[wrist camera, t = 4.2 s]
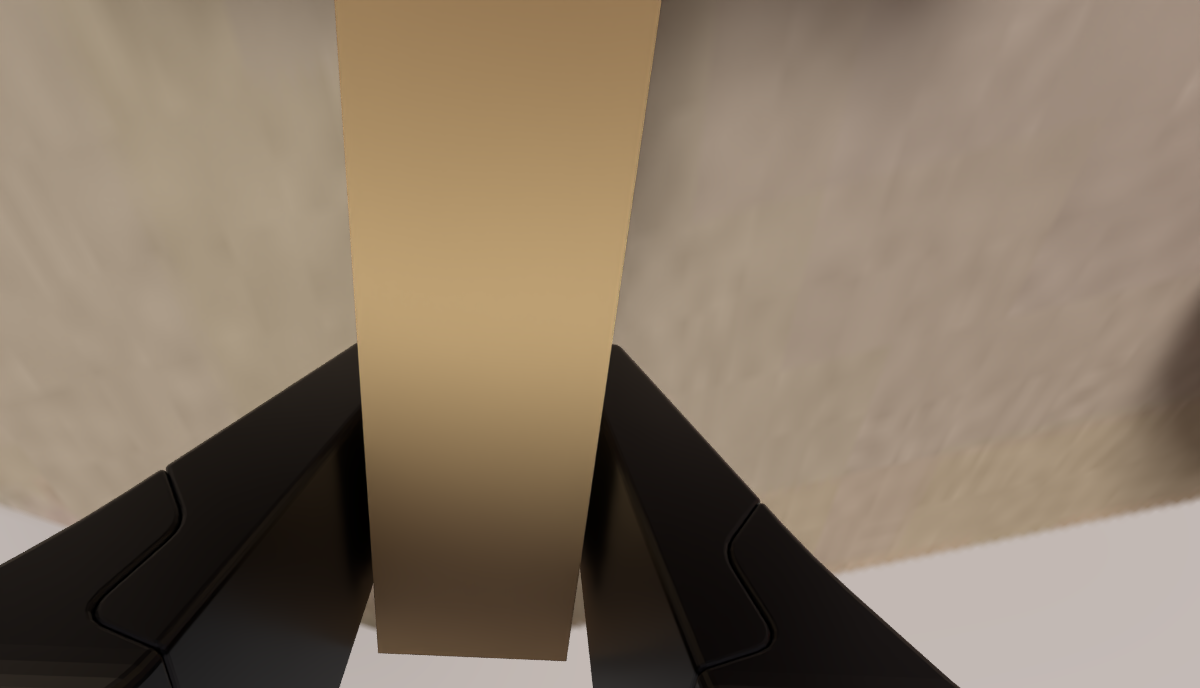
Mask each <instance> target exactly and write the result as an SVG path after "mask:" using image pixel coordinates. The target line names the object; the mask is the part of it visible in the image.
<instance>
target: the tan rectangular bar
mask: <svg viewBox="0 0 1200 688" xmlns="http://www.w3.org/2000/svg"><path fill="white" fill-rule="evenodd" d="M334 1H335V16H336V31H337V46H338V61H339V76H340V91H341V106H342V120H343V135H344V150H345V165H346V180H347V195H348V210H349V225H350V240H351V255H352V270H353V284H354V299H355V314H356V329H357V344H358V359H359V374H360V389H361V404H362V419H363V434H364V449H365V463H366V478H367V493H368V508H369V523H370V538H371V553H372V568H373V583H374V598H375V613H376V627H377V642H378V653H388V654H412V655H436V656H458V657H481V658H506V659H528V660H551V661H566V659H567V652H568V645H569V638H570V631H571V624H572V617H573V610H574V603H575V596H576V589H577V583H578V576H579V569H580V562H581V555H582V548H583V541H584V534H585V527H586V520H587V513H588V506H589V499H590V492H591V486H592V479H593V472H594V465H595V458H596V451H597V444H598V437H599V430H600V423H601V416H602V409H603V402H604V395H605V388H606V382H607V375H608V368H609V361H610V354H611V347H612V340H613V333H614V326H615V319H616V312H617V305H618V298H619V291H620V284H621V278H622V271H623V264H624V257H625V250H626V243H627V236H628V229H629V222H630V215H631V208H632V201H633V194H634V187H635V180H636V174H637V167H638V160H639V153H640V146H641V139H642V132H643V125H644V118H645V111H646V104H647V97H648V90H649V83H650V76H651V70H652V63H653V56H654V49H655V42H656V35H657V28H658V21H659V14H660V7H661V0H334Z"/></svg>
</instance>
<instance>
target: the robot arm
mask: <svg viewBox="0 0 1200 688" xmlns="http://www.w3.org/2000/svg"><path fill="white" fill-rule="evenodd" d="M580 572H581V581H582V590H583V599H584V609H585V618H586V627H587V636H588V646H589V654H590V664H591V673H592V682H593V688H960V687H959V686H957V685H956V684H955V683H953V682H952V681H951V680H950V679H949V678H948V677H947V676H946V675H944V674H943V673H942V672H941V671H940V670H939V669H938V668H937V667H935V666H934V665H933V664H932V663H931V662H930V661H929V660H928V659H926V658H925V657H924V656H923V655H922V654H921V653H920V652H919V651H917V650H916V649H915V648H914V647H913V646H912V645H911V644H910V643H909V642H907V641H906V640H905V639H904V638H903V637H902V636H901V635H899V634H898V633H897V632H896V631H895V630H894V629H893V628H892V627H890V625H888V624H887V623H886V622H885V621H884V620H883V619H882V618H880V617H879V616H878V615H877V614H876V613H875V612H874V611H873V610H872V609H870V608H869V607H868V606H867V605H866V604H865V603H863V601H862V600H860V599H859V598H858V597H857V596H856V595H855V594H854V593H852V592H851V591H850V590H849V589H848V588H847V587H846V586H845V585H844V584H843V583H842V582H841V581H840V580H839V579H838V578H837V577H835V576H834V575H833V574H832V573H831V572H830V571H829V570H828V569H827V568H826V567H825V566H824V565H823V564H822V563H820V562H819V561H818V560H817V559H816V558H815V557H814V556H813V555H812V554H811V553H810V552H809V551H808V550H807V549H806V548H805V547H804V546H803V545H802V544H801V542H800V541H799V540H798V539H797V538H796V537H795V536H794V535H793V534H792V533H791V532H790V531H789V530H788V529H787V528H786V527H785V526H784V525H783V524H782V523H781V522H780V521H779V519H778V518H777V517H776V516H775V515H774V514H773V513H772V512H771V511H770V510H769V508H768V507H767V506H766V505H765V504H763V503H760V499H759V498H758V497H757V496H756V495H755V494H754V492H753V491H752V490H751V489H750V488H749V487H748V486H747V485H746V484H745V483H744V481H743V480H742V479H741V478H740V477H739V476H738V475H737V474H736V473H735V472H734V470H733V469H732V468H731V467H730V466H729V465H728V464H727V463H726V462H725V461H724V460H723V458H722V457H721V456H720V455H719V454H718V453H717V452H716V451H715V450H714V449H713V447H712V446H711V445H710V444H709V443H708V442H707V441H706V440H705V439H704V438H703V437H702V435H701V434H700V433H699V432H698V431H697V430H696V429H695V428H694V427H693V426H692V424H691V423H690V422H689V421H688V420H687V419H686V418H685V417H684V416H683V415H682V413H681V412H680V411H679V410H678V409H677V408H676V407H675V406H674V405H673V404H672V403H671V401H670V400H669V399H668V398H667V397H666V396H665V395H664V394H663V393H662V392H661V390H660V389H659V388H658V387H657V386H656V385H655V384H654V383H653V382H652V381H651V379H650V378H649V377H648V376H647V375H646V374H645V373H644V372H643V371H642V370H641V369H640V367H639V366H638V365H637V364H636V363H635V362H634V361H633V360H632V359H631V358H630V356H629V355H628V354H627V353H626V352H625V351H624V350H623V349H622V348H621V347H620V346H618V345H614V344H612V347H611V354H610V361H609V368H608V375H607V382H606V388H605V395H604V402H603V409H602V416H601V423H600V430H599V437H598V444H597V451H596V458H595V465H594V472H593V479H592V486H591V492H590V499H589V506H588V513H587V520H586V527H585V534H584V541H583V548H582V555H581V562H580ZM372 586H373V568H372V553H371V538H370V523H369V508H368V493H367V478H366V463H365V449H364V434H363V419H362V404H361V389H360V374H359V359H358V344H357V343H356V344H354V345H353V346H351V347H350V348H348V349H346V350H345V351H343V352H342V353H340V354H339V355H337V356H336V357H334V358H333V359H331V360H329V361H328V362H326V363H325V364H323V365H322V366H320V367H319V368H317V369H316V370H314V371H313V372H311V373H309V374H308V375H306V376H305V377H303V378H302V379H300V380H299V381H297V382H296V383H294V384H292V385H291V386H289V387H288V388H286V389H285V390H283V391H282V392H280V393H279V394H277V395H275V396H274V397H272V398H271V399H269V400H268V401H266V402H265V403H263V404H262V405H260V406H258V407H257V408H255V409H254V410H252V411H251V412H249V413H248V414H246V415H245V416H243V417H241V418H240V419H238V420H237V421H235V422H234V423H232V424H231V425H229V426H228V427H226V428H225V429H223V430H221V431H220V432H218V433H217V434H215V435H214V436H212V437H211V438H209V439H208V440H206V441H204V442H203V443H201V444H200V445H198V446H197V447H195V448H194V449H192V450H191V451H189V452H187V453H186V454H184V455H183V456H181V457H180V458H178V459H177V460H175V461H174V462H172V463H170V464H169V465H168V466H167V467H166V471H164V470H160V471H158V472H156V473H155V474H153V475H152V476H150V477H148V478H147V479H145V480H144V481H142V482H141V483H139V484H138V485H136V486H135V487H133V488H131V489H130V490H128V491H127V492H125V493H123V494H122V495H120V496H119V497H117V498H115V499H114V500H112V501H110V502H109V503H107V504H106V505H104V506H102V507H101V508H99V509H97V510H96V511H94V512H93V513H91V514H89V515H88V516H86V517H85V518H83V519H81V520H80V521H78V522H76V523H74V524H73V525H71V526H69V527H67V528H65V529H64V530H62V531H60V532H58V533H57V534H55V535H53V536H51V537H50V538H48V539H46V540H44V541H43V542H41V543H39V544H37V545H36V546H34V547H32V548H30V549H28V550H27V551H25V552H23V553H21V554H19V555H18V556H16V557H14V558H12V559H10V560H8V561H7V562H5V563H3V564H1V565H0V688H339V687H340V684H341V680H342V677H343V674H344V671H345V668H346V665H347V662H348V659H349V656H350V653H351V650H352V647H353V644H354V641H355V638H356V634H357V632H358V628H359V625H360V622H361V619H362V616H363V613H364V610H365V607H366V604H367V601H368V598H369V595H370V592H371V589H372Z"/></svg>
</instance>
